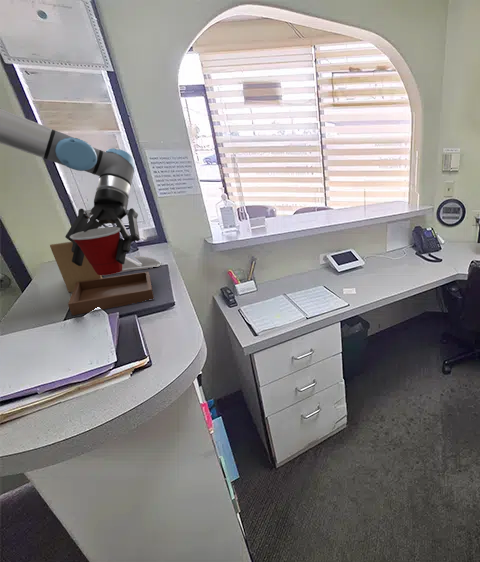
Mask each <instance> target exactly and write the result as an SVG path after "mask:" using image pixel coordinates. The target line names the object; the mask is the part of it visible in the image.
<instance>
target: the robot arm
mask: <svg viewBox="0 0 480 562" xmlns="http://www.w3.org/2000/svg"><path fill="white" fill-rule="evenodd" d="M0 144H1V145H4V146H6V147H9V148H12V149H15V150H18V151H21V152H24V153H26V154H30V155H33V156H36V157H39V158H42V159H44V160H47V161H50V162H53V163H56V164H59V165H61V166H64V167H67V168H69V169H71V170H75V171H79V172H87V173H90V174H92V175H93V176H94V175H95V176H97V177H99V178H98V182H97V186H96V191H95V193H94V194H95V195H94V197H93V198H94V199H93V206H92V208H91V209H87V210H86V209H84V208H79V209H78V213H77V216H76V218H75V220H74V221H73V223H72V225H70V227H69V230H68V231H67V233H66V235H65V236H64V237H65V238H66V240H68V241H69V242H72V243H73V245H72V249H71V251H72V252H73V253H74V254H73V258H72V262H73V263H75V264H76V265H78V266H82V263H83V259H84V253H83V252H82V250H81V248H80V247H79V246H78V244H77V243H76V242H75V241H74V240H73V239H71V238H70V236H71V235H73V234H75V233H78V232H82V231H84V232H86V231H88V230H91V229H96V228H102V226H103V225H108V224H111V225H116V227H118V228H120V229H121V230H120V236H121V238H120V239H119V244H118V250H117V255H116V261H118V262H119V263H120V264H124V263H125V257H127V256H126V255H127V253H130V252H131V246H132V243H133V242H139V241H140V240H141V236H140V231H139V226H138V217H139V214H138V212H137V211H136V210H135V208H129V209H128V205H129V199H130V195H131V194H130V193H131V189H132V183H133V178H134V174H135V167H136V165H135V164H136V161H135V159H134V156H132V155H131V154H130V153H129V152H127V151H125V150H123V149H117V148H114V147H111V148H107V149H106V150H102V149H98V148H96V147H94V146H92V144H89V143H88V142H87V141H85V140H83V139H80V138H79V137H78V138H77V137H73V136H71V135H68V134H65V133H63V132H60V131H58V130H55V129H52V128H50V127H48V126H46V125H43V124H42V123H38V122H35V121H33V120H31V119H28V118H26V117H23V116H20V115H18V114H16V113H13V112H10V111H8V110H5V109H4V108H3V109H2V108H0ZM126 216H127V220H128V226H129V232H130V234H129V232H128V230H127V228H126V226H125V224H124V222H123V220H122V219H123V218H125V217H126Z"/></svg>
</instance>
